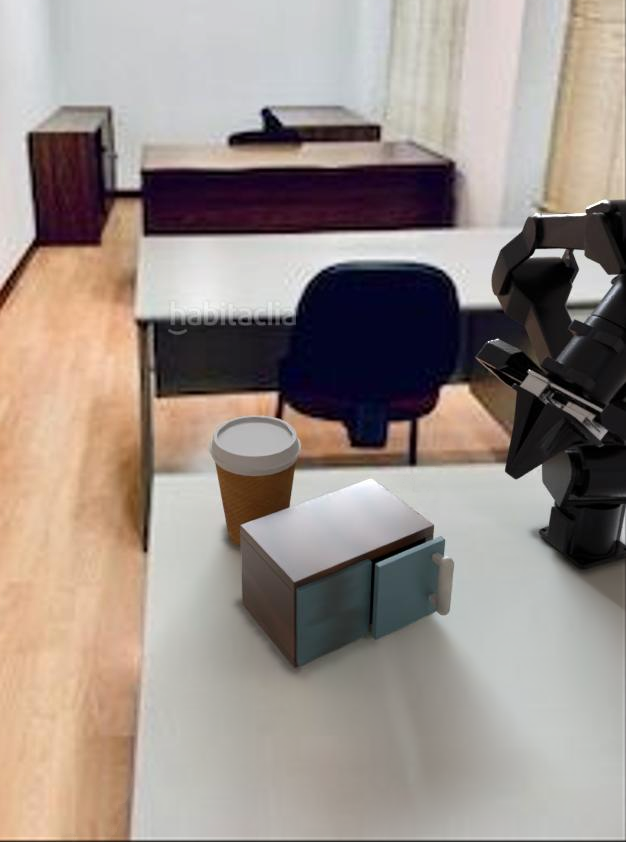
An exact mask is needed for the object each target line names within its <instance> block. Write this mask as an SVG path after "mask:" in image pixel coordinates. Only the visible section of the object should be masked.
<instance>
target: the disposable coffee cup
mask: <svg viewBox="0 0 626 842" xmlns="http://www.w3.org/2000/svg"><path fill="white" fill-rule="evenodd" d="M208 448H209V453H210V456H211V458H212V460H213V461H214V464H215V469H216V475H217V480H218V486H219V491H220V498H221V502H222V507H223V513H224V518H225V524H226V529H227V536H228V538H229V540H230V541H231V543H232V544H233V545H235V546H237V547H239V548H241V541H240V525H242V524H245V523H247V522H250V521H253V520H256V519H258V518H261V517H264V516H267V515H270V514H272V513H275V512H278V511H281V510H284V509H286V508H289V507H291V500H292V491H293V485H294V478H295V472H296V471H295V470H296V466H297V465H296V464H297V460H298V458H299V456H300V454H301V450H302V443H301V439H300V438H299V437H298V434H297V431H296V429H295V428H294V426H293V425H291V424H290V423H288V422H287V421H286V420H283V419H280V418H277V417H275V416H267V415H257V414H255V415H254V414H253V415H243V416H238V417H234V418H231V419H229V420H226V421H224V422H222V423H221V424H220V425H219V426H217V427H216V429H215V430H214V432H213V436H212V438H211V440H210V442H209V447H208Z"/></svg>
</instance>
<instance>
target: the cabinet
mask: <svg viewBox="0 0 626 842" xmlns="http://www.w3.org/2000/svg"><path fill="white" fill-rule="evenodd" d="M434 534H435V524H434V523H432V522H431V521H430V520H429V519H427V518H426V517H424V516H423V515H422V514H420V513H419V512H418V511H416V510H415V509H414V508H412V507H411V506H410V505H408V504H407V503H405V502H404V501H403V500H401V499H400V498H399V497H397V495H395V494H393V492H391V491H390V490H388V489H387V488H385V487H384V486H383V485H382V484H380V483H379V482H377V481H376V480H375V479H374V478H367V479H364V480H362V481H358V482H356V483H354V484H351V485H348V486H346V487H343V488H340V489H337V490H334V491H331V492H329V493H328V492H327V493H325V494H322V495H320V496H318V497H317V496H316V497H314V498H312V499H309V500H306V501H303V502H301V503H298V504H295V505H293V506H290V507H289V508H286V509H284V510H281V511H278V512H275V513H272V514H270V515H267V516H264V517H261V518H258V519H256V520H253V521H250V522H247V523H245V524H242V525H240V541H241V547H240V568H241V569H240V570H241V604H242V606H243V607H244V609H246V611H247V612H248V613H249V614H250V616H251V617H252V618H253V619H254V621H255V622H256V623H257V624H258V626H259V627H260V628H261V630H262V631H263V632H264V633H265V634H266V636H267V637H268V638H269V639H270V641H271V642H272V643H273V645H275V647H276V648H277V649H278V651H279V652H280V653H281V654H282V656H283V657H284V658H285V659H286V660H287V661H288V663H289V664H290V665H291V666H292V668H293V669H296V668H298V667H299V668H301V667H303V666H305V665H307V664H309V663H312V662H313V661H315V660H318V659H320V658H322V657H324V656H326V655H329V654H331V653H333V652H335V651H337V650H338V649H341V648H344V647H345V646H347V645H349V644H351V643H354V642H355V641H358V640H360V639H362V638H364V637H367V636H368V635H369V634H370V633H372V622H373V600H374V578H375V564H376V563H378V562H380V561H383V560H385V559H388V558H390V557H392V556H395V555H397V554H399V553H402V552H404V551H407V550H409V549H411V548H414V547H416V546H418V545H421V544H423V543H426V542H428V541H430V540H433V539H434V536H435V535H434Z"/></svg>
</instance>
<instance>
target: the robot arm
mask: <svg viewBox="0 0 626 842" xmlns="http://www.w3.org/2000/svg"><path fill="white" fill-rule="evenodd" d="M558 249H559V250H564V253H563V255H562V256H561V257H560V256H533V255H534V254H535V252H536V250H558ZM574 251H583V252H584V253H583V254H584V257H585V258H586V259H588V260H590V261H592V262H594V263H596V264H599V266H600V267H601V268H602V269H603V271H604V272H605V273H606V274H607V276H614V277H613V278H612V279H611V280H610V284H611V287H610V288H609V289H608V290H607V292H606V294H604V295H603V297H602V298H601V300H600V301H599V302H598V304H597V305H596V306H595V308H594V309H593V310H592V312H591V313H590V314H589V315H588V317H587V318H586V319H585V321H584V322H582V321H580V320H578V319H575V318H574V319H573V320H572V317H571V315H570V313H569V310H568V308H567V303H568V300H569V297H570V295H571V292H572V289H573V283H574V281H575V279H576V277H577V275H578V274H579V271H580V267H579V265H578V262H577V259H576V256H575V254H574ZM490 281H491V282H490V283H491V291H492V293H493V295H494V296H495V297H496V298H497V300H498V302H499V304H500V306H501V308H502V311H503V312H504V314H505V315H507V316H508V317H510V318H511V319H513V320H515V321H516V322H518V323H519V324H520V325H522V326H524V328H525V331H526V332H527V335H528V338H529V341H530V344H531V346H532V349H533V351H534V354H535V356H536V359H537V362H538V364H539V365H538V364H537V363H536V362H535V361H534V360H533V359H532V358H530V356H528V355H527V353H525V352H524V351H523V350H522V349H519V348H517V347H516V346H513V345H511V344H510V343H508V342H505V341H503V340H501V339H499V338H496V339H493V340H489V341H486V343H485V344H484V345H483V346H482V347H481V349H480V350H479V352H478V353H477V355H476V356H475V357H474V358H475V360H477V362H479V363H480V364H481V365H482V366H484V367H485V368H486V369H487V370H488V371H489V372H490V373H491V374H492V375H494V376H495V377H496V378H497V379H498V380H499V381H500V382H501V383H503V384H504V385H506V386H507V387H508V388H510V389H511V390H512V391H513V392H514V393H515V395H516V396H515V405H514V417H513V425H512V430H511V431H512V432H511V436H510V440H509V446H508V451H507V455H506V456H507V457H506V461H505V466H504V472H505V474H506V475H508V476H509V477H511V478H512V479H513V480H519V479H520V478H522V477H524V476H526V475H527V474H528V473H530V472H532V471H534V470H535V469H536V468H538V467H540V466H541V482H542V484H543V485H544V488H546V490H547V492H549V493H548V494H549V495H550V496H551V498H552V499H553V501H554V503H553V505H552V506H551V508H550V514H549V521H548V525H546V526H542V527H539V529H538V534H539V535H540V536H541V538H542V539H544V540H546V542H548V543H549V544H550V545H551V546H552V547H553V548H555V550H557V551H558V552H559V553H561V554H562V555H563V556H564V557H565V558H567V559H568V560H569V561H571V563H572V564H574V565H575V566H576V567H577V568H578V569H582V570H585V569H588V568H592V567H596V566H599V565H602V564H607V563H609V562H610V563H611V562H613V561H616V560H620V559H623V558H626V544H625V543H624V542H622V541H621V538H622V537H621V536H622V531H623V526H624V521H625V515H626V198H625V199H624V198H623V199H603V200H600V201H598V202H595V203H594V204H592V205H589V206H587V207H586V208H585V212H584V213H570V212H538V213H537V212H536V213H534V214H533V215H529V216H528V217H527V218H526V219H525V222H524V224H523V227H522V230H521V231H520V232H519V233H518V234H517V235H515V236H514V237H513V238H512V239H511V240H510V241H508V242H507V243H506V244H504V246H503V247H501V249H500V250H499V253H498V256H497V258H496V261H495V264H494V266H493V269H492V273H491V280H490Z"/></svg>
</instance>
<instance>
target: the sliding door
mask: <svg viewBox="0 0 626 842" xmlns="http://www.w3.org/2000/svg"><path fill="white" fill-rule="evenodd" d="M445 551H446V538H444V536H441V535H440V536H437V537H435V538H433V540H430V541H428V542H426V543H423V544H421V545H418V546H416V547H414V548H411V549H409V550H407V551H404V552H402V553H399V554H397V555H395V556H392V557H390V558H388V559H385V560H383V561H380V562H378V563H376V564H375V578H374V600H373V622H372V632H371V637H372V638H373V639H374V640H375V641H378V640H379V639H381V638H384V637H386V636H388V635H390V634H392V633H394V632H396V631H398V630H400V629H402V628H405V627H406V626H409V625H411V624H413V623H415V622H417V621H419V620H421V619H423V618H426V617H428V616H429V615H432V614H434V613H436V612H437V613H438V615H440V616H447V615H448V614H449V613H450V611H451V603H452V602H451V601H452V590H453V581H454V570H455V569H454V568H455V561H454V559H453V558H452V557H451V556H448V555H447V556H445Z"/></svg>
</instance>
